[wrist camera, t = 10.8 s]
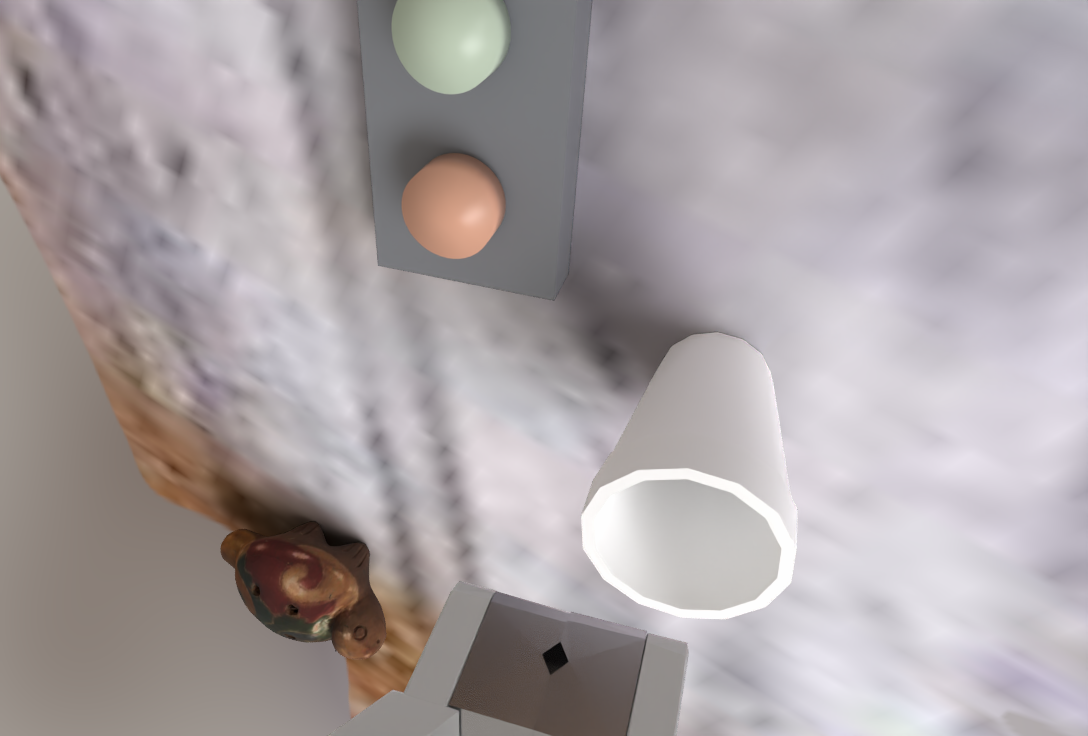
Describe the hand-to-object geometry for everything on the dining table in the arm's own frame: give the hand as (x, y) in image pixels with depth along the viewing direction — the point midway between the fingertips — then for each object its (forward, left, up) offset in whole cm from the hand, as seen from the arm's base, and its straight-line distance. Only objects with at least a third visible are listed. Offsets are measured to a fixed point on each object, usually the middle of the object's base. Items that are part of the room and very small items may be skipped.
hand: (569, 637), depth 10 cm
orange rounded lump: (+12, +8, -30) cm, 34 cm away
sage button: (+12, 0, -30) cm, 33 cm away
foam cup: (-2, +18, -31) cm, 36 cm away
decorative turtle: (+25, +43, -31) cm, 59 cm away
